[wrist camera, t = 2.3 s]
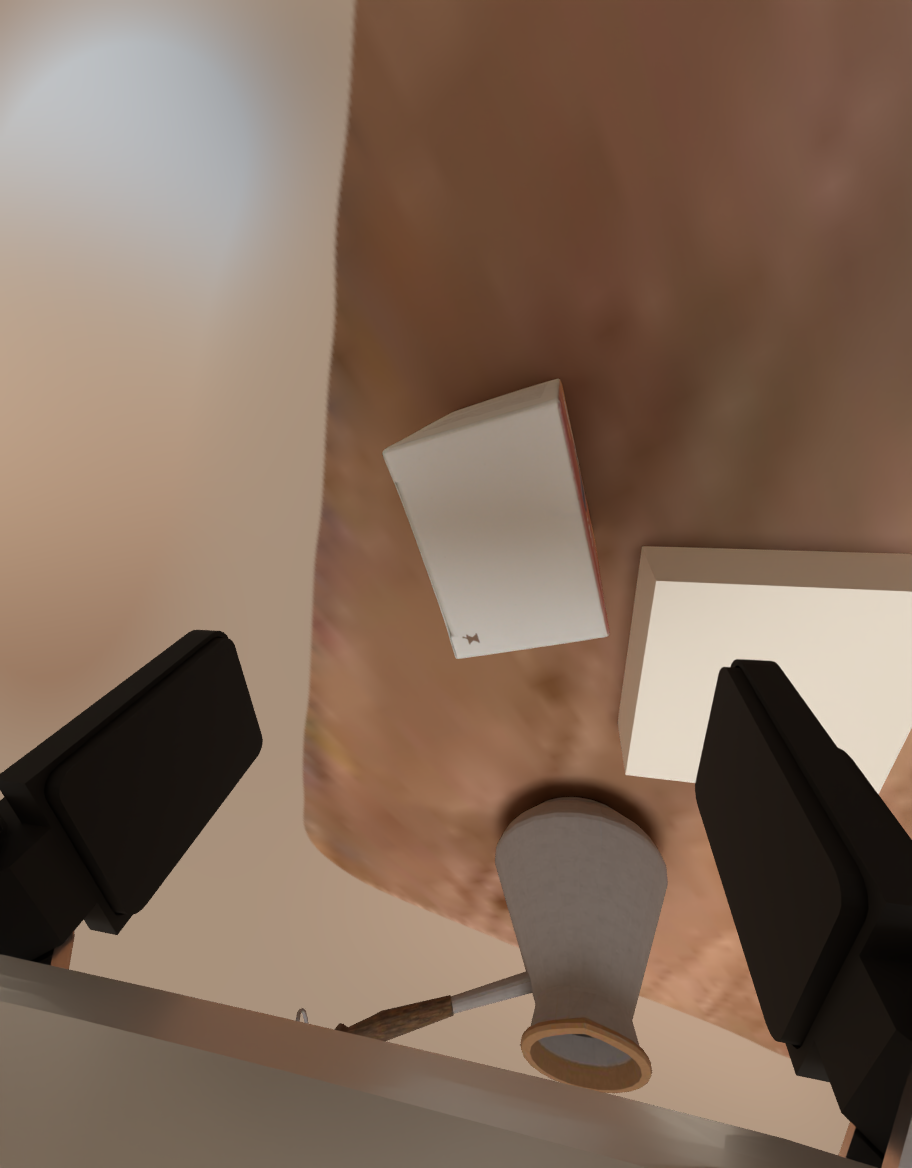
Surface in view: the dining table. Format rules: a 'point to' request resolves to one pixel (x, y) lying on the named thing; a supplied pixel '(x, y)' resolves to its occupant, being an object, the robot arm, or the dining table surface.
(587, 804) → the coffee pot
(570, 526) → the small box
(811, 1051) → the robot arm
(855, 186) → the dining table surface
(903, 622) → the cream white block
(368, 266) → the dining table surface
